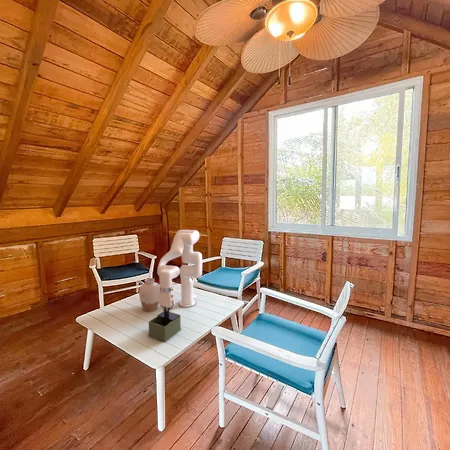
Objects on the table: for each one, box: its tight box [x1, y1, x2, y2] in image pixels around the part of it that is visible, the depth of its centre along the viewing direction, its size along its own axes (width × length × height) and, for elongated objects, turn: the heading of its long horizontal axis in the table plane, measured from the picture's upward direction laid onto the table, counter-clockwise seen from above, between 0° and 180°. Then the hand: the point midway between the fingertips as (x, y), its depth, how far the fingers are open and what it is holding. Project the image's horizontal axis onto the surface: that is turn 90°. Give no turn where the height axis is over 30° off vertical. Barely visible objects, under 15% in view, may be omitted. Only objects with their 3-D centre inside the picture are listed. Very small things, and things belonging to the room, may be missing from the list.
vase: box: [138, 277, 160, 312], centre depth 190 cm, size 16×16×23 cm
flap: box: [156, 310, 181, 321], centre depth 161 cm, size 7×13×1 cm, turn 62°
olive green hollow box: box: [148, 315, 182, 343], centre depth 159 cm, size 15×13×10 cm
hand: (166, 316), depth 160 cm, fingers closed
